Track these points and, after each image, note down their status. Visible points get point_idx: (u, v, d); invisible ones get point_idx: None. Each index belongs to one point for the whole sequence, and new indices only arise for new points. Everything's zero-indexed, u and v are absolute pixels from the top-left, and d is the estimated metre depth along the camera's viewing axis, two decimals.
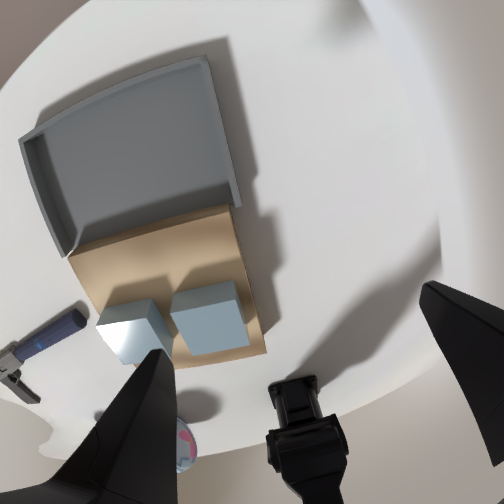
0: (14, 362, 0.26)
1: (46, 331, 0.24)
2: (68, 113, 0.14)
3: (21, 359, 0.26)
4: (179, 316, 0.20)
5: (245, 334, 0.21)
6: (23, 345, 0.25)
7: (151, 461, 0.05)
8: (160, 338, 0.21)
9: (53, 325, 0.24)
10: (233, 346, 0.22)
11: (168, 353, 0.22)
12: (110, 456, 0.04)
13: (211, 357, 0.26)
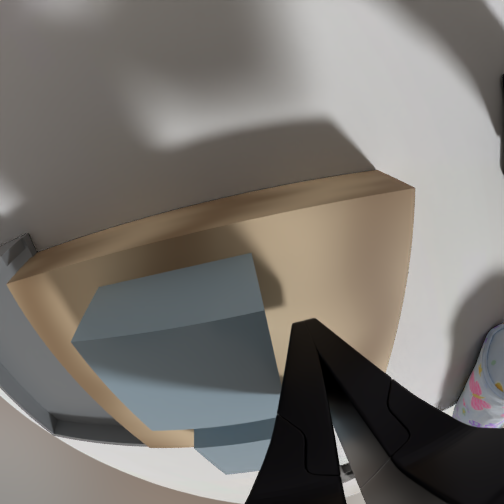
0: None
1: None
2: (15, 400, 0.12)
3: None
4: (156, 423, 0.08)
5: (203, 326, 0.06)
6: None
7: None
8: (256, 435, 0.09)
9: None
10: (264, 352, 0.06)
11: None
12: (326, 438, 0.04)
13: (379, 322, 0.10)
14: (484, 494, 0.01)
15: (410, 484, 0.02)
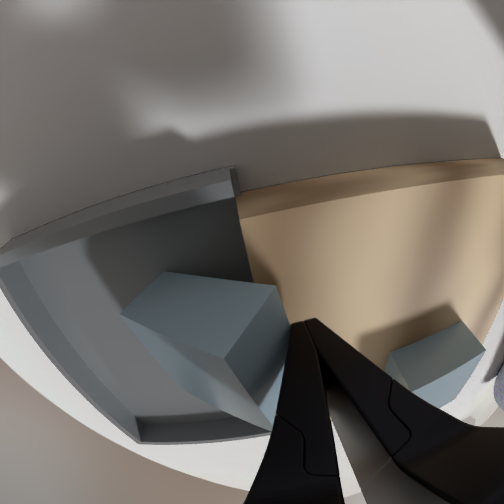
0: None
1: None
2: (100, 407, 0.12)
3: None
4: (184, 387, 0.10)
5: (186, 345, 0.07)
6: None
7: None
8: (452, 364, 0.09)
9: None
10: (237, 385, 0.06)
11: (477, 353, 0.09)
12: (325, 438, 0.04)
13: None
14: (485, 493, 0.01)
15: (411, 483, 0.02)
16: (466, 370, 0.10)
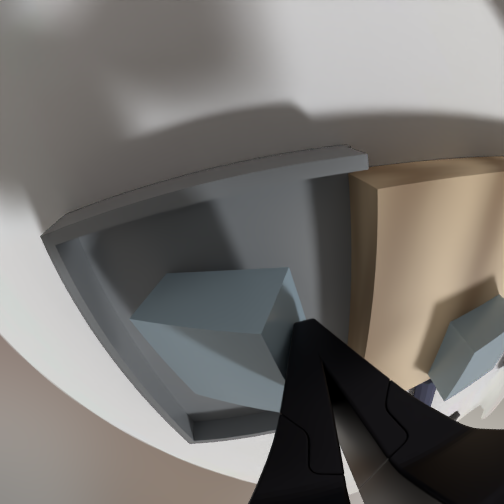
0: None
1: None
2: (160, 407, 0.12)
3: None
4: (197, 389, 0.10)
5: (215, 332, 0.07)
6: None
7: None
8: (500, 329, 0.10)
9: None
10: (268, 364, 0.07)
11: None
12: (329, 437, 0.04)
13: None
14: (482, 496, 0.01)
15: (408, 485, 0.02)
16: None
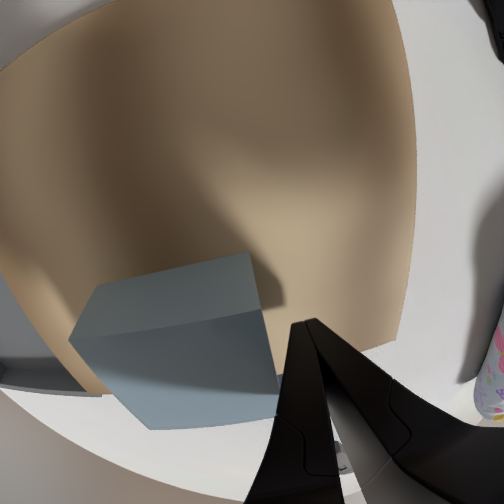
0: None
1: None
2: None
3: None
4: None
5: None
6: None
7: None
8: (157, 319, 0.06)
9: None
10: None
11: (231, 310, 0.06)
12: (325, 438, 0.04)
13: (389, 138, 0.07)
14: (485, 493, 0.01)
15: (411, 483, 0.02)
16: (224, 349, 0.06)
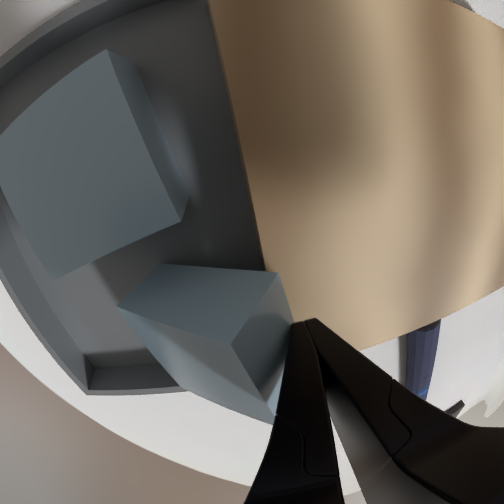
0: None
1: (412, 377, 0.16)
2: (32, 321, 0.09)
3: None
4: (51, 260, 0.07)
5: (64, 80, 0.05)
6: None
7: None
8: (169, 315, 0.07)
9: (411, 364, 0.15)
10: (114, 95, 0.05)
11: (212, 333, 0.06)
12: (325, 438, 0.04)
13: None
14: (486, 493, 0.01)
15: (411, 483, 0.02)
16: (211, 358, 0.07)
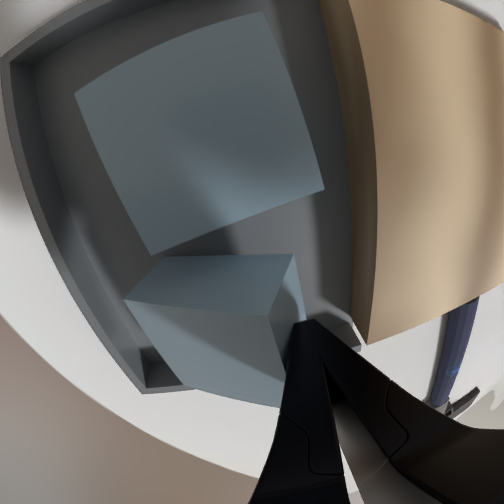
0: (441, 408, 0.22)
1: (450, 353, 0.16)
2: (91, 312, 0.09)
3: (446, 399, 0.20)
4: (155, 230, 0.07)
5: (209, 28, 0.05)
6: (437, 391, 0.20)
7: None
8: (190, 300, 0.07)
9: (451, 339, 0.15)
10: (272, 57, 0.05)
11: (245, 309, 0.06)
12: (329, 437, 0.04)
13: None
14: (482, 496, 0.01)
15: (408, 485, 0.02)
16: (238, 339, 0.07)
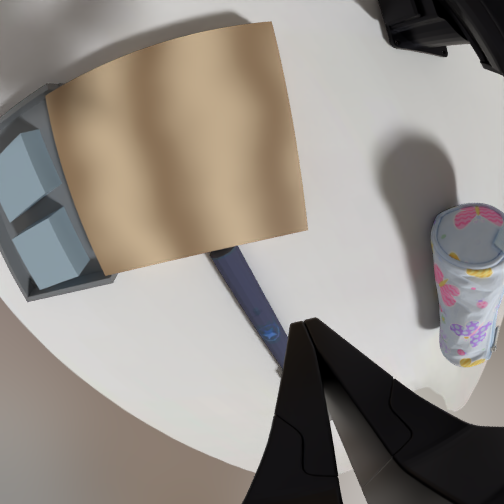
0: None
1: (245, 312, 0.23)
2: (3, 251, 0.17)
3: None
4: (9, 213, 0.14)
5: (10, 144, 0.12)
6: (276, 359, 0.27)
7: None
8: (31, 227, 0.16)
9: (235, 296, 0.22)
10: (24, 150, 0.13)
11: (43, 220, 0.15)
12: (323, 439, 0.04)
13: (271, 103, 0.14)
14: (486, 492, 0.01)
15: (412, 483, 0.02)
16: (45, 234, 0.16)
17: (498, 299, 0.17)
